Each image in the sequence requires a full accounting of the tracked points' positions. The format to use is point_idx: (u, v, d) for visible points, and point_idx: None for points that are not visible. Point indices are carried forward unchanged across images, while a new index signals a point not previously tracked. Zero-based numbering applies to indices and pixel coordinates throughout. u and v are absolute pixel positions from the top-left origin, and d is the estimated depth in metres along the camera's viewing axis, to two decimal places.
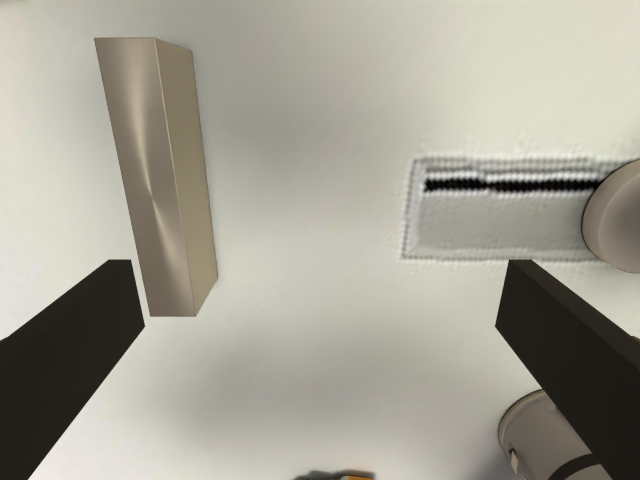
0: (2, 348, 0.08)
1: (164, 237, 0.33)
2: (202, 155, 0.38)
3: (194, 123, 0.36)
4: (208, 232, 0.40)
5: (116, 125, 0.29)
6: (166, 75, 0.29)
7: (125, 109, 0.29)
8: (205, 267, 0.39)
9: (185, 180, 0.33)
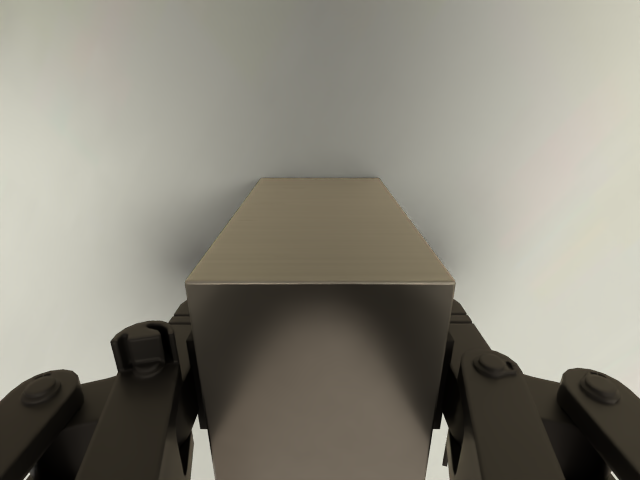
0: None
1: None
2: None
3: None
4: None
5: None
6: None
7: None
8: None
9: None
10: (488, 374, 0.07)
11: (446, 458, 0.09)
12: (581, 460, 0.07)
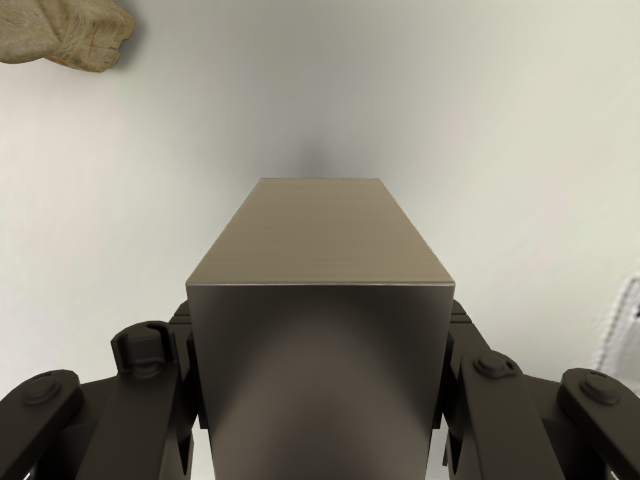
0: None
1: None
2: None
3: None
4: None
5: None
6: None
7: None
8: None
9: None
10: (488, 374, 0.07)
11: (446, 458, 0.09)
12: (581, 460, 0.07)
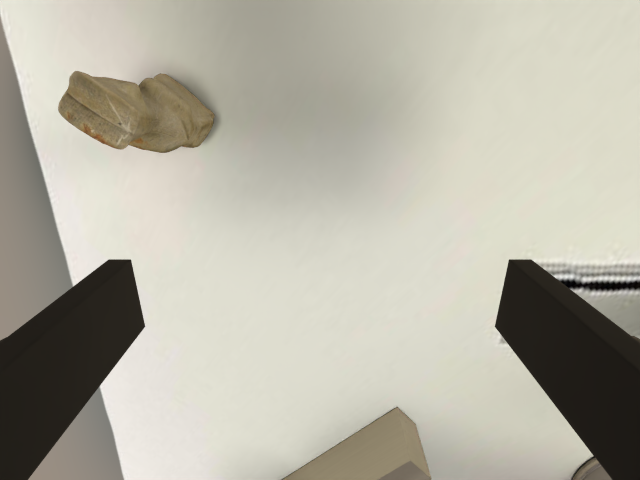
0: (2, 348, 0.08)
1: None
2: None
3: None
4: None
5: None
6: None
7: None
8: None
9: None
10: None
11: None
12: None
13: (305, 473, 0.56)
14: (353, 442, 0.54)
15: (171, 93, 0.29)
